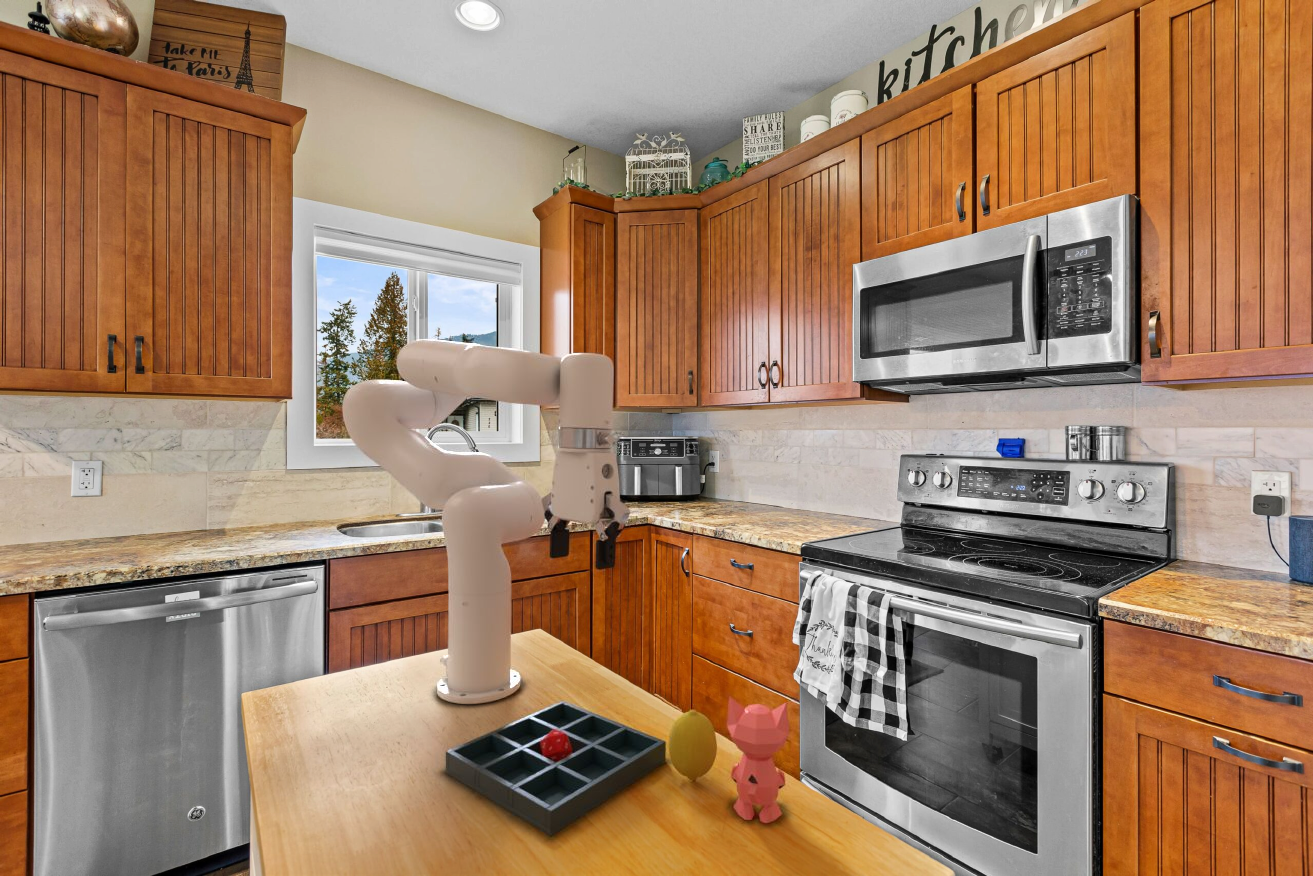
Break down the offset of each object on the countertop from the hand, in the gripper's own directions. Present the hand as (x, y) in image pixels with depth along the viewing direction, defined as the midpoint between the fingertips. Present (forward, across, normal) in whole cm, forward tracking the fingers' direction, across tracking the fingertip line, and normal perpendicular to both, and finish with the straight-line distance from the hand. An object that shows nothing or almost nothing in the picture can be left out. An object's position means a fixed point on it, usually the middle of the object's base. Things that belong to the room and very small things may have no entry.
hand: (581, 562), depth 87 cm
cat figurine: (+21, -32, +3) cm, 38 cm away
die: (+21, -8, +11) cm, 25 cm away
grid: (+22, -9, +11) cm, 26 cm away
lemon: (+21, -22, +2) cm, 31 cm away
